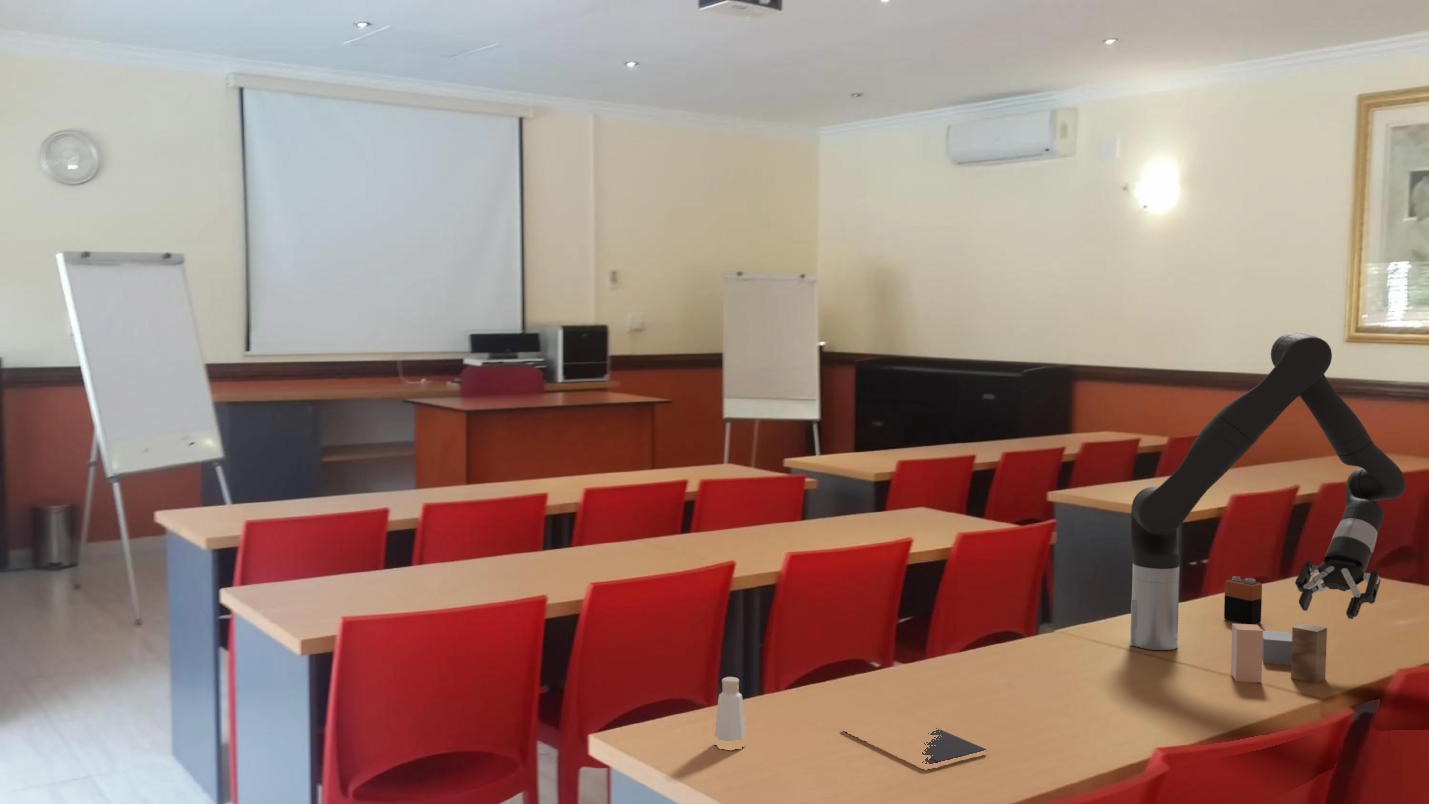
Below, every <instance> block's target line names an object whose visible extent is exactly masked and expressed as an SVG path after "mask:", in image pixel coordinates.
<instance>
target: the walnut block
mask: <svg viewBox="0 0 1429 804" xmlns="http://www.w3.org/2000/svg"><path fill="white" fill-rule="evenodd" d="M1291 633H1292V659H1291V665H1290V679H1291V680H1295V679H1296V680H1295V681H1299V680H1300V682H1304V681H1305V683H1309V684H1314V685H1316V684H1318V683H1321V682H1322V681H1324V680H1326V672H1327V671H1326V670H1327V669H1326V666H1327V639H1328V635H1327V634H1328V628H1327V627H1325V626H1321V625H1320V626H1319V625H1315V624H1314V625H1313V624H1310V623H1304V622H1302V623H1300V624H1297V625H1294V626H1292V631H1291Z"/></svg>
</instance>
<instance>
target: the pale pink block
mask: <svg viewBox="0 0 1429 804" xmlns="http://www.w3.org/2000/svg"><path fill="white" fill-rule="evenodd" d="M1263 631H1264V630H1263V629H1262V628H1261V627H1260V626H1259V625H1258V624H1242V623H1232V624H1231V647H1230V648H1231V653H1230V655H1231V656H1230V675H1231V677H1232V676H1233V677H1232V678H1233V679H1234V681H1235V682H1239V681H1240V683H1242V682H1245V683H1257V682H1261V683H1262V676H1263V675H1262V671H1263V670H1262V669H1263V661H1262V644H1263Z"/></svg>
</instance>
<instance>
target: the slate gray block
mask: <svg viewBox="0 0 1429 804" xmlns="http://www.w3.org/2000/svg"><path fill="white" fill-rule="evenodd" d="M1291 659H1292V632H1287V631H1286V632H1285V631H1273V630H1263V644H1262V660H1263V661H1262V663H1263V662H1264V663H1263V664H1269V663H1276V664H1275V665H1281V664H1286V665H1285V666H1291Z"/></svg>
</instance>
